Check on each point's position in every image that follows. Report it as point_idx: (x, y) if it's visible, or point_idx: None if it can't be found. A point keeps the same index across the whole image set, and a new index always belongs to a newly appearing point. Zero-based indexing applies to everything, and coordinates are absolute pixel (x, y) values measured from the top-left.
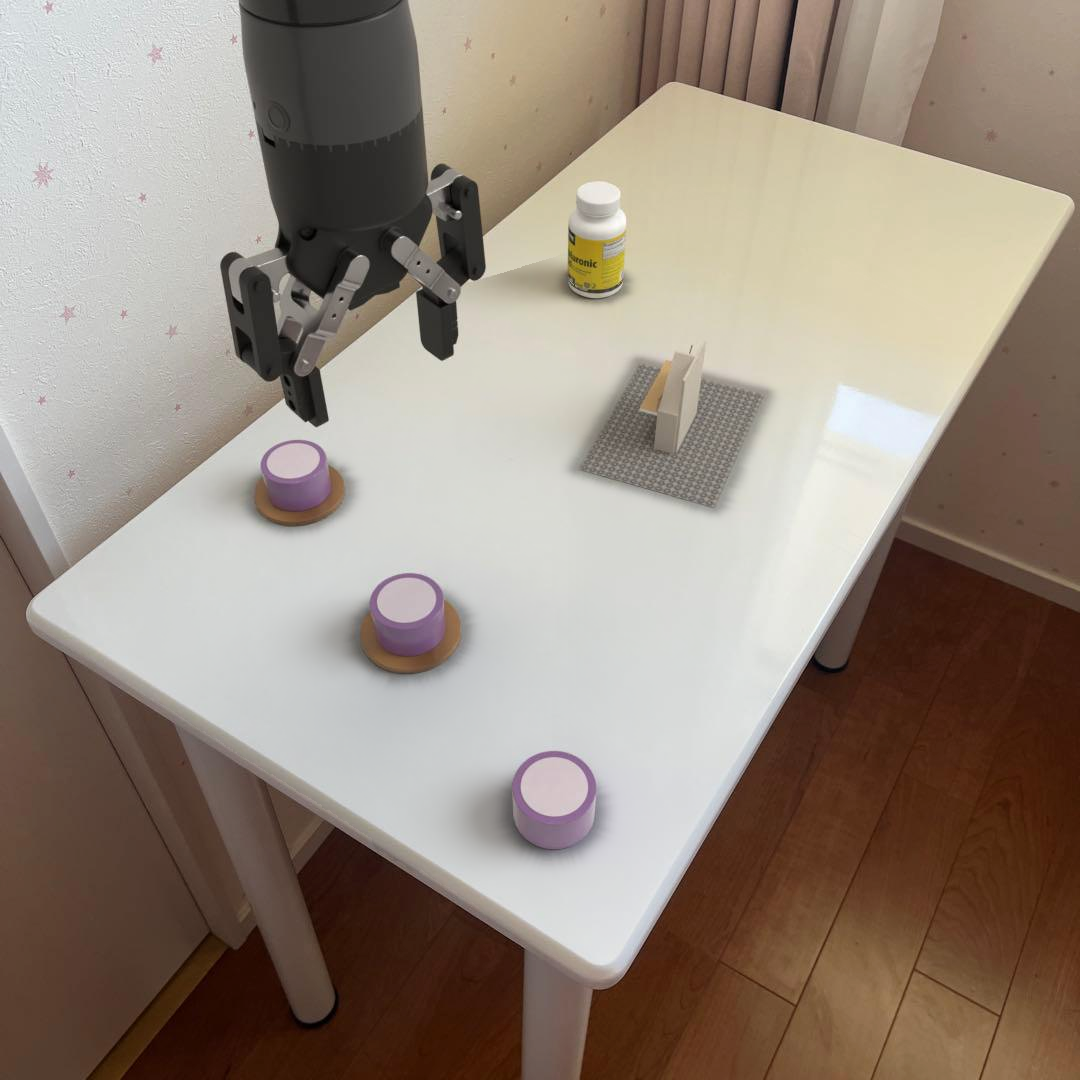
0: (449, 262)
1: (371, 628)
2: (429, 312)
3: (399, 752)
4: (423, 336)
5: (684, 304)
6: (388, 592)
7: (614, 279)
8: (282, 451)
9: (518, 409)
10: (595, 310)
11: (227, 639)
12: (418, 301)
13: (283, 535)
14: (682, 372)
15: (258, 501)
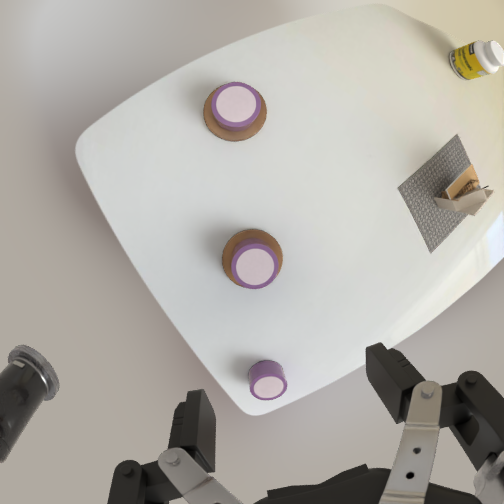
0: (451, 416)
1: (231, 249)
2: (391, 397)
3: (215, 324)
4: (372, 358)
5: (485, 112)
6: (247, 256)
7: (471, 78)
8: (232, 91)
9: (392, 119)
10: (454, 81)
11: (152, 212)
12: (395, 385)
13: (210, 142)
14: (476, 199)
15: (205, 109)
